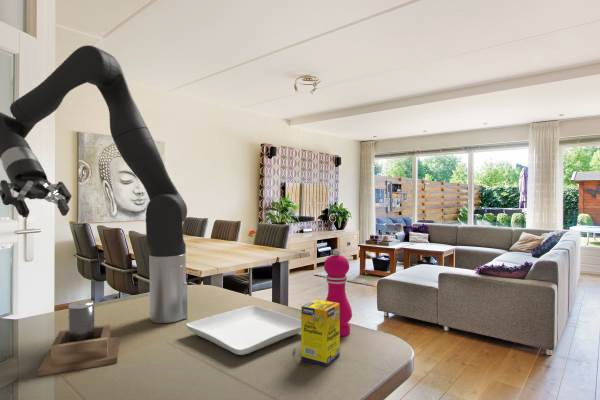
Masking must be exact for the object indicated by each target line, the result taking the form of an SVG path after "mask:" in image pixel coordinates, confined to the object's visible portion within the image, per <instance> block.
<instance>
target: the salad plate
mask: <svg viewBox="0 0 600 400" xmlns="http://www.w3.org/2000/svg"><path fill="white" fill-rule="evenodd" d="M185 327H186V328H187V329H188V330H189V331H190V332H192V333H193V334H194V335H196V336H199V337H201V338H203V339H205V340H207V341H209V342H211V343H213V344H215V345H217V346H219V347H221V348H224V349H226V350H227V351H229V352H231V353H232V354H235V355H239V356H245V355H247V354H251V353H253V352H255V351H259V350H261V349H263V348H266V347H268V346H271V345H274V344H275V343H277V342H279V341H283V340H285V339H287V338H289V337H292V336H296V335H297V334H300V333H301V319H299V318H296V317H293V316H290V315H287V314H284V313H281V312H278V311H275V310H271V309H268V308H264V307H262V306H258V305H249V306H245V307H239V308H236V309H233V310H229V311H225V312H221V313H218V314H214V315H211V316H207V317H204V318H200V319H197V320H193V321H190V322H187V323H186V324H185Z"/></svg>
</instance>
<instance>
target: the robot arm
mask: <svg viewBox="0 0 600 400" xmlns="http://www.w3.org/2000/svg"><path fill="white" fill-rule="evenodd" d="M87 83H88V84H90V85H94V86H96V88H97V89H98V91H99V92H100V94H101V96H102V98H103V99H104V101H105V103H106V106H107V109H108V113H109V129H110V134H111V137H112V140H113V142H114V144H115V146H116V148H117V150H118V151H117V152H118V153H119V155H120V156H121V157H122V159H123V161H124V162H125V163H126V165H127V167H128V168H129V169H130V171H131V172H132V173H133V174H134V175H135V176H136V177H137V179H138V180H139V181H140V183H141V185H142V186H143V187H144V190H145V192H146V194H147V196H148V199H149V202H148V203H147V206H146V209H145V234H146V245H147V247H148V251H149V253H148V254H149V256H148V257H149V260H148V261H149V263H148V264H149V266H148V267H149V320H150V322H151V323H156V324H169V323H174V322H178V321H182V320H185V319H188V282H187V262H186V261H187V258H186V257H187V255H186V252H187V251H186V250H187V249H186V248H187V247H186V243H185V240H184V231H183V230H184V226H183V225H184V224H183V223H184V221H186V219H187V217H188V208H187V207H188V206H187V203H186V202H185V200H184V199H183V197H182V196H181V194H180V192H179V191H178V189H177V188H176V186H175V184H174V182H173V181H172V179H171V178H170V175H169V174H168V171H167V169H166V166H165V163H164V161H163V158H162V157H161V154H160V152H159V149H158V147H157V145H156V142H155V140H154V138H153V136H152V134H151V132H150V130H149V128H148V126H147V123H146V122H145V120H144V118H143V115H142V114H141V111H140V110H139V108H138V106H137V104H136V102H135V99H133V96H132V94H131V91H130V89H129V86H128V84H127V83H128V82H127V80H126V77H125V73H124V70H123V68H122V66H121V64H120V62H119V61H118V60H117V59H116V57H115V56H113V55H112V54H110V53H109V52H107V51H105V50H103V49H101V48H99V47H96V46H94V45H82V46H80V47H77V48H76V49H75V50H73V52H72V53H71V54H70V55H69V56H67V58H65V60H64V61H63V62H62V63H61V64H60V65H59V66H57V68H55V69H54V71H53V72H52V73H50V74H49V75H48V76H47V77H46V78H45V79H44V80H43V81H41V82H40V83H39V84H38V85H36V86H35V87H34V88H32V89H31V90H30V91H28V92H26V93H25V94H23V95H22V96H20V97H19V98H17V99H16V100H15V101H13V102H12V103H11V104H10V106H9V111H10V113H11V114H12V116H13V117H12V116H9V115H7V114H5V113H4V112H1V111H0V161H1V163H2V167H3V170H4V172H5V173H6V176H7V177H8V180H9V181H10V182H8V181H7V180H5V179H2V180H0V199H1V201H2V204H3V205H4V206H9V205H13V207H15V209H16V212H17V213H18V215H19V216H22V218H24V219H25V218H28V216H29V214H30V209H29V207H28V205H27V203H26V201H25V199H29V200H45V201H46V202H49V203H53V204H55V205H56V206H57V208H58V210H59V212H60V214H61V216H63V217H66V216H67V214H68V213H69V211H70V206H69V203H70V200H71V198H72V196H73V195H72V194H71V192H70V191H69V189H68V188H67V186H66V185H65V183H64V182H63V181H58V183H51V181H49V180H48V176H47V173H46V172H45V169H44V168H43V166H42V164H41V163H40V161H39V159H38V157H37V156H36V154H35V153H34V152H33V150H32V148H31V147H30V144H29V143H28V141H27V140H26V139H25V138H26V137H27V136H28V135H29V133H30V132H31V131H32V130H33V128H34V127H35V126H36V125H37V124H38V123H39V122H42V120H44V119H46V118H47V117H48V116H50V115H51V114H53V113H54V112H55V111H56V110H57V109H58V108H59V107H60V106H61V104H62V102H63V101H64V99H65V97H66V96H67V95H68V94H69V93H70V92H71V91H72V90H74V89H75V88H77V87H79V86H82V85H84V84H87ZM11 190H12V191H14V192H16V193H18V195H16V196H13V194H12V191H11ZM49 194H50V195H49Z"/></svg>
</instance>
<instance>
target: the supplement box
mask: <svg viewBox="0 0 600 400" xmlns="http://www.w3.org/2000/svg"><path fill="white" fill-rule="evenodd" d="M300 309H301V310H300V313H301V315H300V316H301V318H300V320H301V332H300V334H301V337H300V338H301V341H300V343H301V345H300V346H301V353H300V354H301V357H300V358H301V361H304V362H308V363H312V364H315V365H319V366H323V367H328V366H329V365H330V364H331V363H332V362H333V361H335V359H338V358H339V357H340V356H341V354H340V352H341V351H340V350H341V348H340V345H341V344H340V342H341V341H340V338H341V337H340V303H335V302H329V301H326V300H323V299H318V298H317V299H314V300H312V301H311V302H308V303H306V304H303V305H301V308H300Z"/></svg>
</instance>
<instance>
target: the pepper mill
mask: <svg viewBox="0 0 600 400" xmlns="http://www.w3.org/2000/svg"><path fill="white" fill-rule="evenodd" d="M332 254H333V255H331V256H328V257H327V258H326V259H325V260H324V264H323V267H324V268H323V269H324V271H325V273H326V274H327V275H325V276H326V280H325V282H326V283H327V287H328V288H327V289H328V290H327V296H326V299H325V301H329V302H335V303H340V338H341V337H346V336H348V335H350V334H351V325H350V323H349V322H350V321H351V319H352V318H353V313H352V311H353V310H352V306H351V305H350V302H349V300H348V298H347V294H346V283H347V282H348V280H347V278H348V276H347V273H348V272H349V270H350V262H349V260H348V259H347V258H346V257H345V256H343V255H340V254H341V251H340V249H339V248H334V249H333V250H332Z"/></svg>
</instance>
